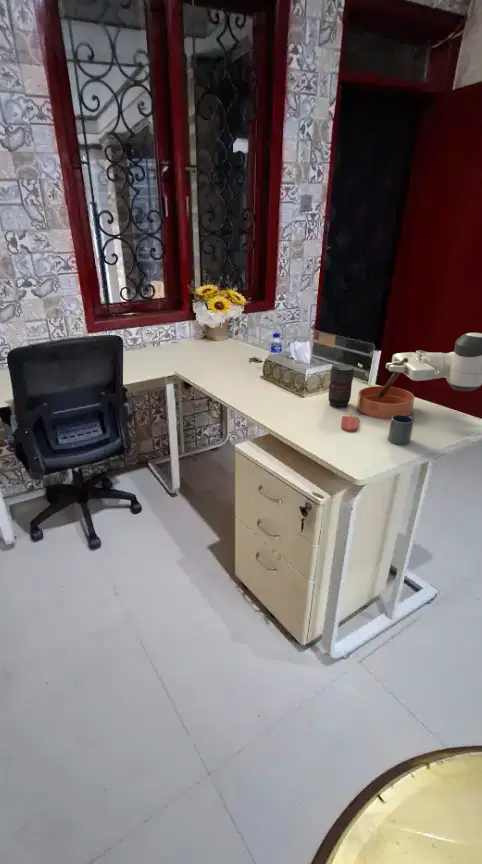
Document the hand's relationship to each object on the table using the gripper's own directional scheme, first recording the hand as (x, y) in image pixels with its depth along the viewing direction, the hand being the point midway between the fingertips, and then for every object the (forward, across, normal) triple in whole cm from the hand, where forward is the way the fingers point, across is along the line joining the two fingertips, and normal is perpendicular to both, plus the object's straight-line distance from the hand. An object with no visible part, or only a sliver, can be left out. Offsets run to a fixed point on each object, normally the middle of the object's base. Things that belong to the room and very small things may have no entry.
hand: (387, 367), depth 143 cm
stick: (+1, 0, -11) cm, 11 cm away
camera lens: (+14, +6, -16) cm, 22 cm away
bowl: (-1, 0, -16) cm, 16 cm away
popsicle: (+14, -11, -16) cm, 24 cm away
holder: (+3, -25, -16) cm, 30 cm away
